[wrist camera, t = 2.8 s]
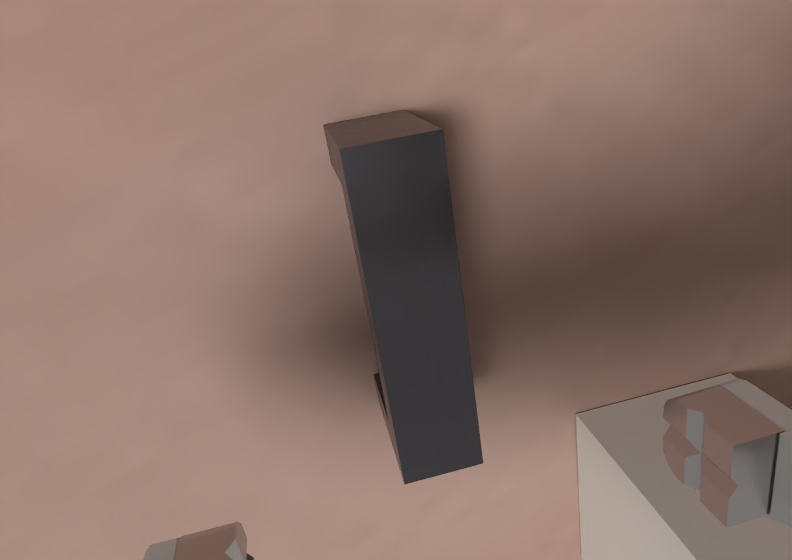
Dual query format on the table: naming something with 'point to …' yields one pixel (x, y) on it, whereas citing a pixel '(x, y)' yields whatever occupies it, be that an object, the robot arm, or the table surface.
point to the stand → (654, 493)
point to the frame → (410, 287)
